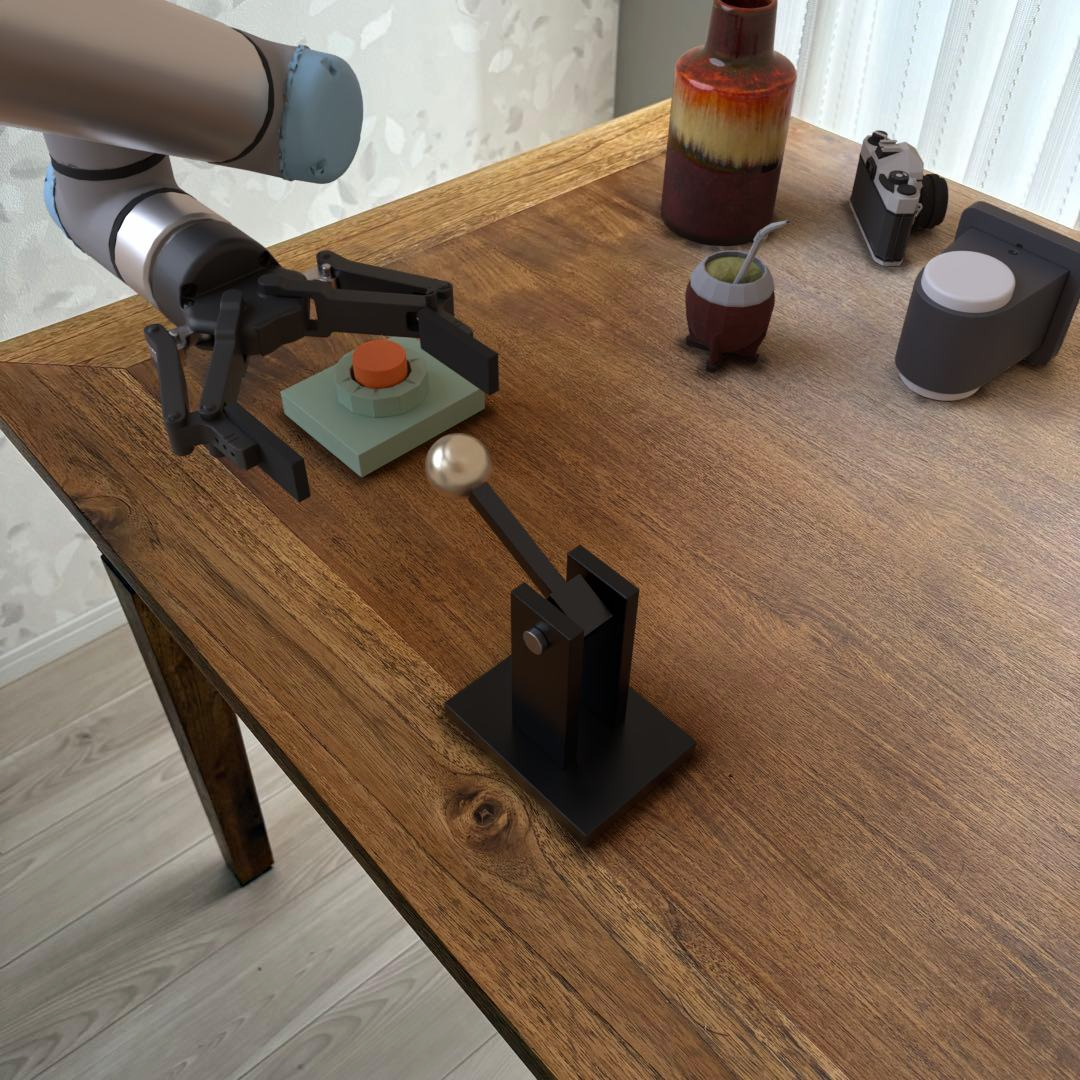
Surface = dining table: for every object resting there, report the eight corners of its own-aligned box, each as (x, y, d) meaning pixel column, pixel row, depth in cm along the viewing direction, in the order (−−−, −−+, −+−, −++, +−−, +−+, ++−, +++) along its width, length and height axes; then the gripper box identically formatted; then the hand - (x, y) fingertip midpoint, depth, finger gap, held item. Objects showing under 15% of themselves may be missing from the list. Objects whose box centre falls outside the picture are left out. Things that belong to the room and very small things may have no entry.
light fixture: (854, 371, 92) (880, 258, 84) (946, 304, 98) (978, 192, 90) (969, 435, 86) (1009, 320, 78) (1059, 359, 92) (1105, 245, 84)
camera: (957, 267, 102) (985, 172, 96) (874, 269, 102) (897, 173, 96) (911, 207, 112) (934, 117, 106) (836, 208, 111) (854, 118, 106)
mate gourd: (695, 319, 96) (717, 154, 85) (784, 342, 94) (818, 176, 83) (665, 365, 91) (684, 197, 80) (757, 391, 89) (789, 222, 78)
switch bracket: (444, 715, 67) (432, 570, 57) (553, 636, 71) (557, 490, 62) (585, 849, 60) (596, 710, 51) (694, 754, 65) (723, 610, 56)
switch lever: (405, 472, 60) (419, 439, 57) (456, 442, 62) (472, 409, 59) (555, 663, 58) (577, 640, 55) (603, 628, 60) (627, 604, 57)
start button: (375, 397, 82) (373, 378, 81) (343, 372, 84) (341, 354, 83) (418, 375, 84) (416, 356, 83) (386, 351, 86) (384, 333, 85)
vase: (760, 188, 112) (795, -26, 98) (781, 245, 105) (823, 21, 90) (653, 190, 112) (673, -25, 97) (668, 247, 104) (691, 22, 90)
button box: (361, 478, 81) (355, 436, 78) (284, 414, 86) (276, 372, 83) (485, 408, 87) (484, 367, 84) (406, 352, 92) (402, 311, 89)
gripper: (360, 254, 81) (561, 386, 71) (38, 397, 69) (222, 582, 59) (349, 158, 76) (564, 284, 65) (-2, 294, 64) (192, 477, 53)
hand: (403, 425), depth 62 cm, fingers open, 13 cm apart
